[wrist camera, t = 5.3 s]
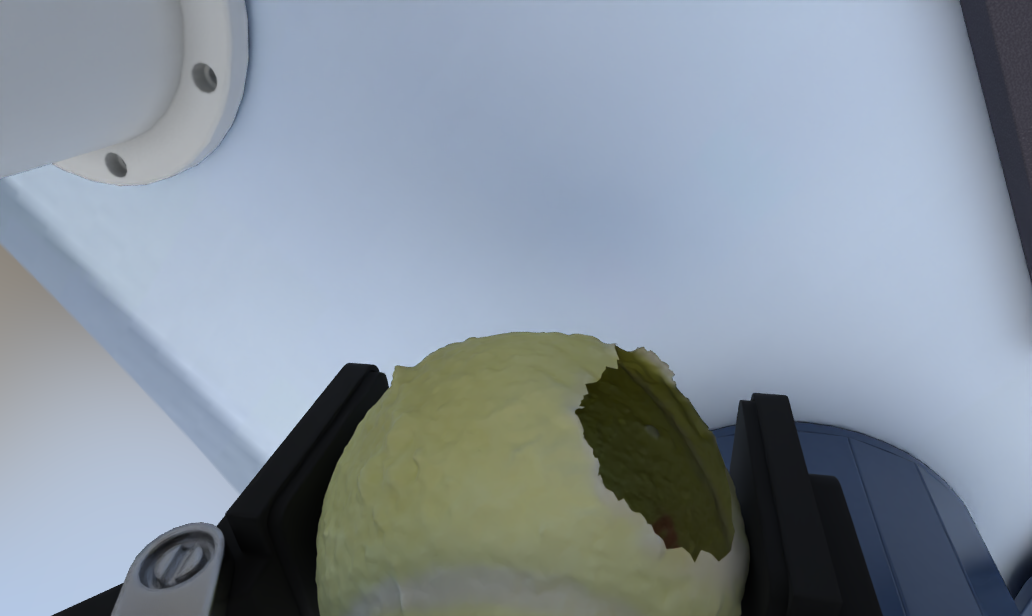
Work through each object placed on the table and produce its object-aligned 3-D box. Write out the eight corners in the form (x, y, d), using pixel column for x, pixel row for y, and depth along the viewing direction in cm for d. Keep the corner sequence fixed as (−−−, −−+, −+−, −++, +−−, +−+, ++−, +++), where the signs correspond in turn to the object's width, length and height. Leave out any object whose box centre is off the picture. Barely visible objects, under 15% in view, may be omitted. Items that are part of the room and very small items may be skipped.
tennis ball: (536, 547, 15) (455, 907, 9) (345, 357, 13) (100, 659, 7) (781, 452, 12) (883, 900, 6) (576, 190, 10) (459, 485, 4)
